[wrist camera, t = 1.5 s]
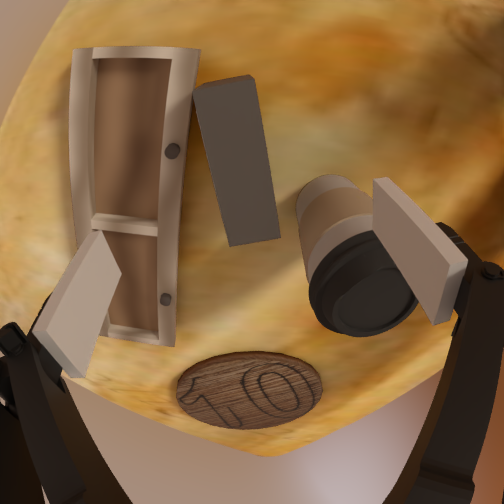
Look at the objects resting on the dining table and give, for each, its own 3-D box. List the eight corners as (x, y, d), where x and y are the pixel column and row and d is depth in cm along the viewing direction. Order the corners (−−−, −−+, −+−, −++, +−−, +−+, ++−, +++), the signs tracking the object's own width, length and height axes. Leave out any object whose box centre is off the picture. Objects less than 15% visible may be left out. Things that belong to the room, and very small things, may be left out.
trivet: (219, 429, 61) (219, 436, 59) (147, 371, 47) (146, 380, 46) (333, 401, 56) (335, 409, 54) (296, 329, 43) (298, 339, 41)
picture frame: (249, 74, 24) (254, 78, 18) (270, 195, 31) (280, 237, 24) (201, 83, 25) (188, 92, 18) (228, 202, 31) (227, 247, 25)
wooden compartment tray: (202, 50, 23) (197, 48, 20) (176, 331, 41) (173, 351, 38) (86, 48, 21) (68, 49, 18) (100, 320, 40) (93, 339, 37)
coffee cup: (383, 207, 32) (454, 300, 20) (320, 256, 35) (358, 365, 23) (335, 145, 28) (408, 222, 16) (266, 205, 32) (286, 314, 19)
